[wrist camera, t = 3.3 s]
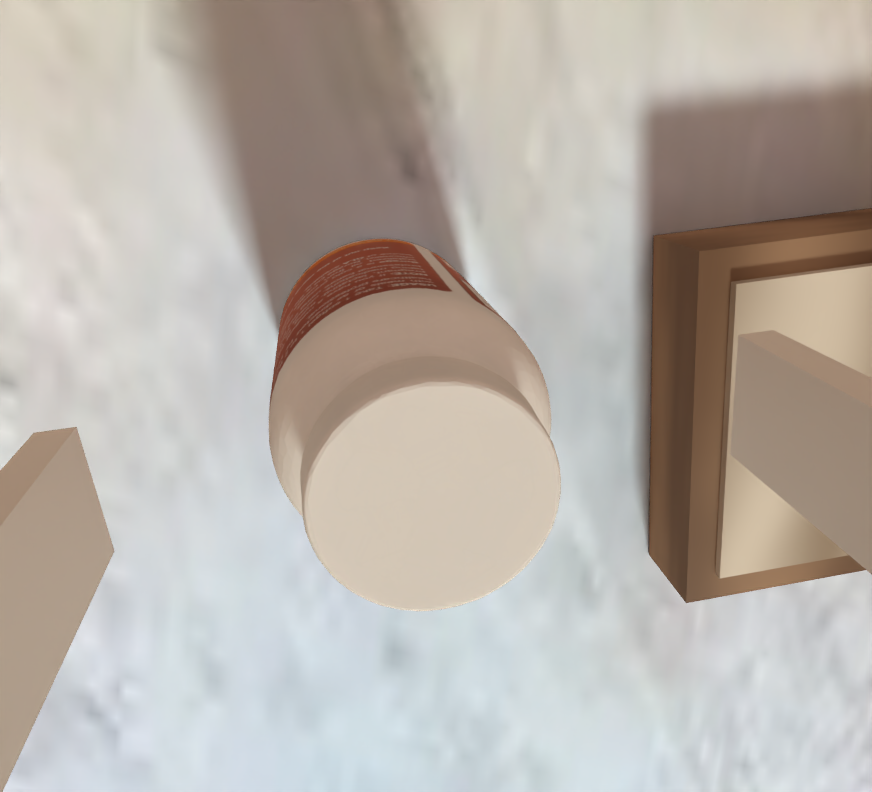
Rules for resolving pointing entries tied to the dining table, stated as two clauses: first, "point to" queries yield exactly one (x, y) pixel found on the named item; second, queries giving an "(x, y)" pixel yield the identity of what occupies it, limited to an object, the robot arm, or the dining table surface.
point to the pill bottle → (410, 428)
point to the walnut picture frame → (715, 385)
